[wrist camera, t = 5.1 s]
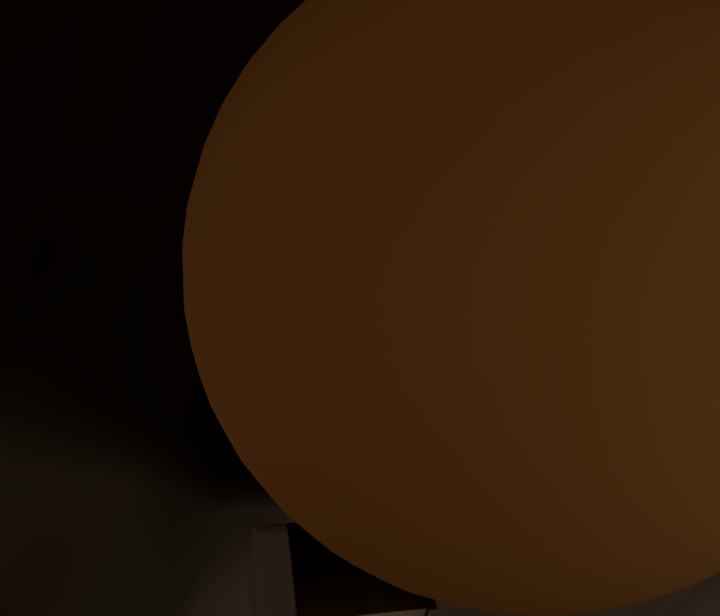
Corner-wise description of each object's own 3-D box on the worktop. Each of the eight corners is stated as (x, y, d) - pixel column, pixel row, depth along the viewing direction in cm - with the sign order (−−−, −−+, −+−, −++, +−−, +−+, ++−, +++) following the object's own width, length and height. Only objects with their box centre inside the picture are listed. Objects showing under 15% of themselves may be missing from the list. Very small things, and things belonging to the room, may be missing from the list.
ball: (92, 163, 7) (-132, 637, 3) (472, -250, 6) (1388, -747, 1) (393, 397, 10) (534, 817, 5) (697, 160, 9) (1222, 464, 4)
